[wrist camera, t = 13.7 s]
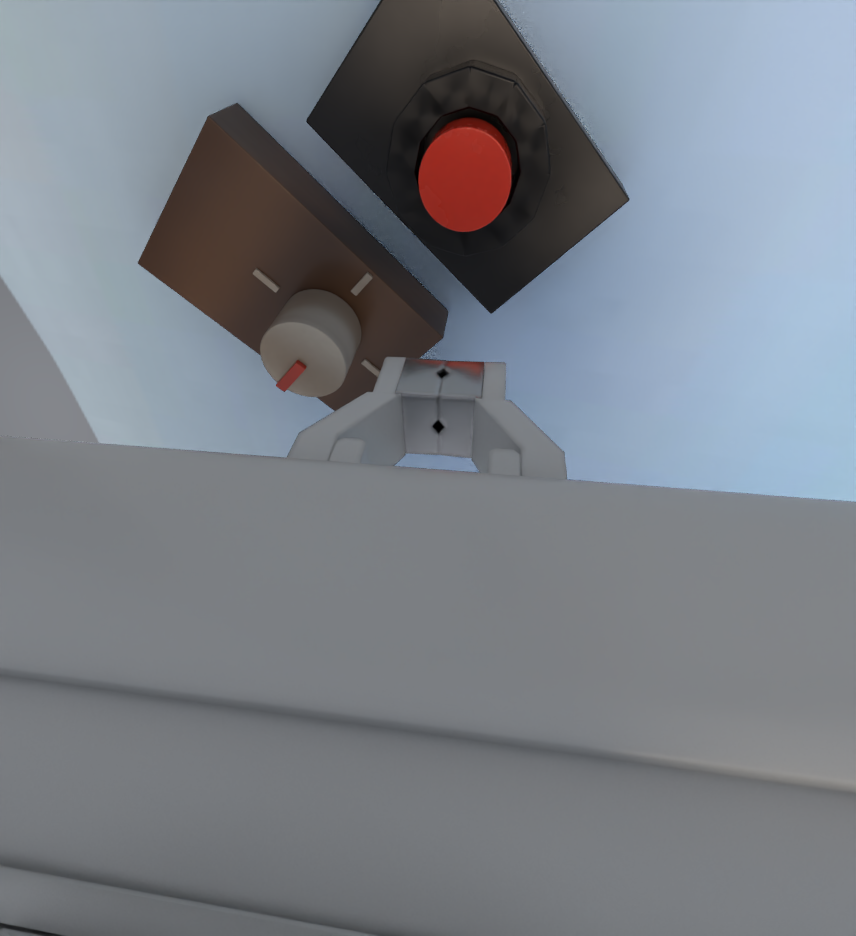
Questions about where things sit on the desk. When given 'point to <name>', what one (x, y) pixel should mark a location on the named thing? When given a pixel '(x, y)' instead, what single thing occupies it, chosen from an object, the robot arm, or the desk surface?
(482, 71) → the control block
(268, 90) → the desk surface
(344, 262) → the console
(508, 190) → the button
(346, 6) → the desk surface
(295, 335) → the dial
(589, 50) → the desk surface
